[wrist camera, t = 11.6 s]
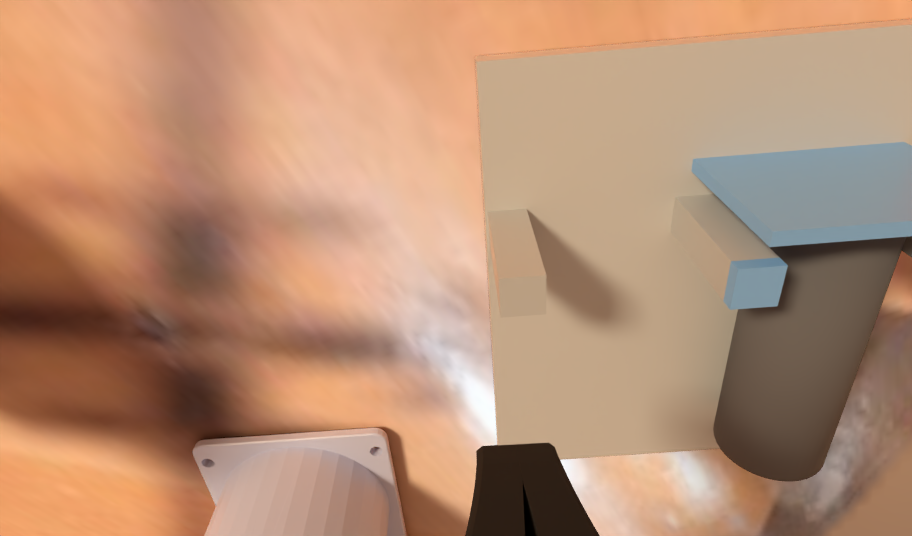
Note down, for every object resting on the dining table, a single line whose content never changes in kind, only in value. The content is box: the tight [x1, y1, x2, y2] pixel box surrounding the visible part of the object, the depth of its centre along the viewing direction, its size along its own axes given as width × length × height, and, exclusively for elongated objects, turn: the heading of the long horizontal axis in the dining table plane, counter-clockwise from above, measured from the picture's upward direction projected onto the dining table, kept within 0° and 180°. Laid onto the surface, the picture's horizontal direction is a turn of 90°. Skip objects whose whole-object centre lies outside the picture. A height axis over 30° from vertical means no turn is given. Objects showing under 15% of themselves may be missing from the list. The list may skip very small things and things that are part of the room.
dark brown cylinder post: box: [713, 237, 906, 481], centre depth 18 cm, size 10×4×4 cm, turn 4°
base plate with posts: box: [475, 19, 912, 460], centre depth 18 cm, size 16×13×6 cm
